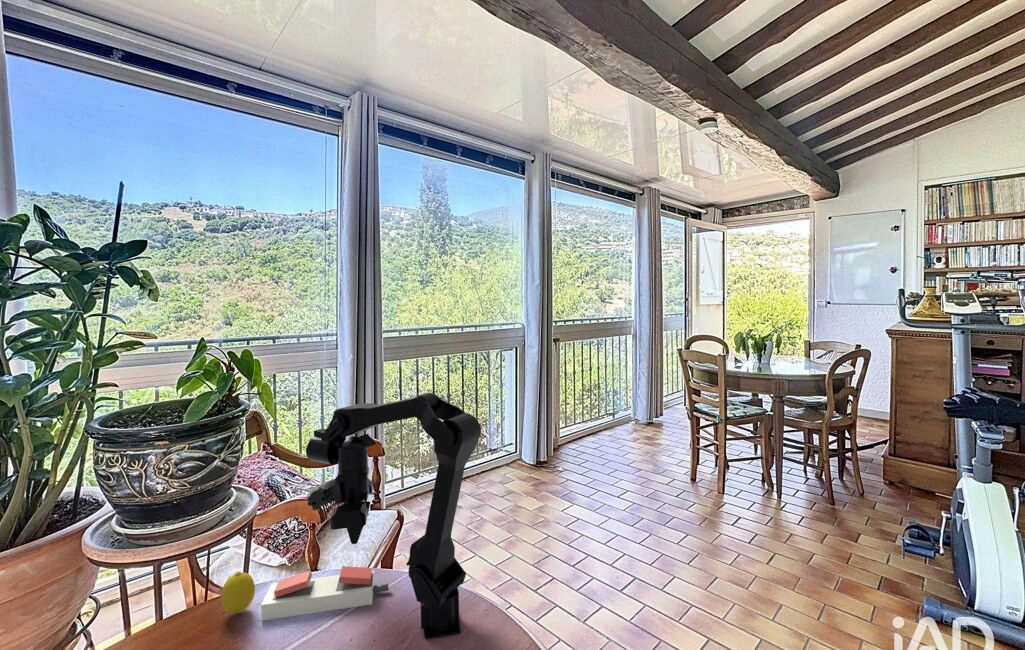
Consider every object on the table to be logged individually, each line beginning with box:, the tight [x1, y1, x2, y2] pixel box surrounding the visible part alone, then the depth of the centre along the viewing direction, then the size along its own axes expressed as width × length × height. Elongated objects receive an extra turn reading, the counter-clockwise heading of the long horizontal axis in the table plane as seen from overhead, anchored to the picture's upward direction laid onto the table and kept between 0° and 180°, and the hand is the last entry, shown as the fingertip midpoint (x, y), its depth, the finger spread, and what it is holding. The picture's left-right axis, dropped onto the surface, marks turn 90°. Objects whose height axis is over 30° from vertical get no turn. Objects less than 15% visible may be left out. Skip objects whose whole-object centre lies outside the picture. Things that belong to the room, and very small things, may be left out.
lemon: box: [220, 571, 256, 615], centre depth 88 cm, size 6×6×8 cm
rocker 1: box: [274, 569, 313, 598], centre depth 90 cm, size 6×4×1 cm, turn 103°
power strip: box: [260, 570, 389, 622], centre depth 92 cm, size 23×7×3 cm, turn 103°
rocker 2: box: [339, 565, 373, 585], centre depth 93 cm, size 6×4×1 cm, turn 103°
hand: (354, 543), depth 93 cm, fingers closed
